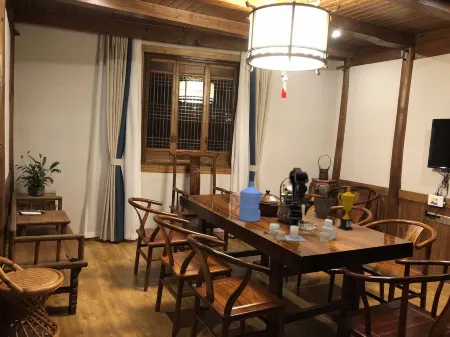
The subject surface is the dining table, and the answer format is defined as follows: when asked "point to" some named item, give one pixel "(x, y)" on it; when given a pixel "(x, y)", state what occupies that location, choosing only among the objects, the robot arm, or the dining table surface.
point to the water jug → (250, 204)
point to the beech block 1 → (279, 235)
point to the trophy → (347, 209)
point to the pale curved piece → (273, 227)
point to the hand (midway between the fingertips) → (297, 215)
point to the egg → (294, 232)
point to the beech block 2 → (323, 237)
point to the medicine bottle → (329, 228)
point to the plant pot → (322, 206)
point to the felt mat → (294, 239)
